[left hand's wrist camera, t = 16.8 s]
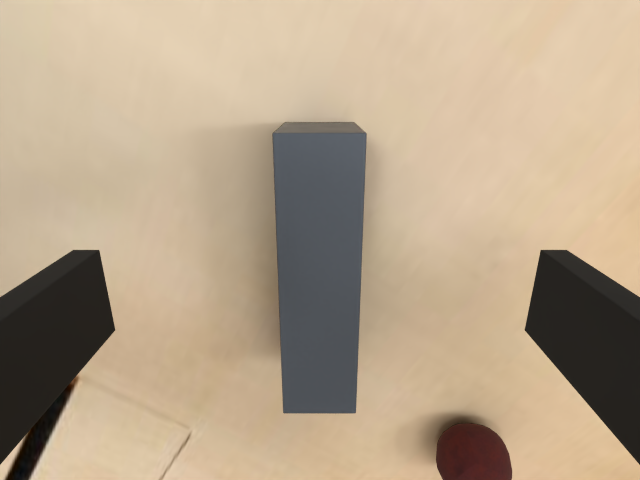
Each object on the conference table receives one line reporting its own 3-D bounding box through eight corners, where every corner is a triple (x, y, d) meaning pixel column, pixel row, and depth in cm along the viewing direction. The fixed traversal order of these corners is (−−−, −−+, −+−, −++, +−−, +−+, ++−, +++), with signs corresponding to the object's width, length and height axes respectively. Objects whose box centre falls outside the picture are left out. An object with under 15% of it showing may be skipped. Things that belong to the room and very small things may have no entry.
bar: (284, 122, 34) (272, 132, 26) (354, 122, 34) (366, 132, 26) (290, 346, 42) (283, 413, 33) (348, 346, 42) (355, 413, 33)
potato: (466, 469, 47) (490, 530, 41) (414, 440, 46) (430, 499, 39) (510, 428, 45) (543, 486, 39) (457, 397, 44) (482, 451, 37)
